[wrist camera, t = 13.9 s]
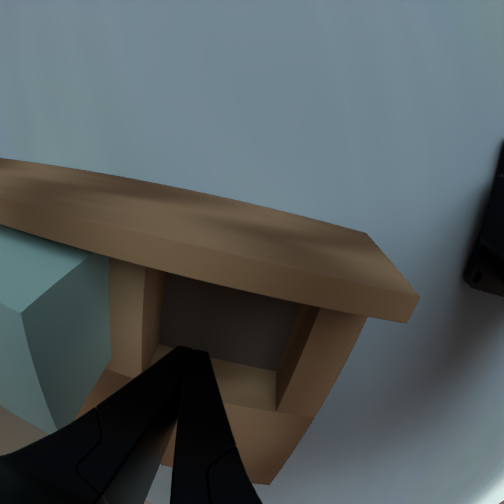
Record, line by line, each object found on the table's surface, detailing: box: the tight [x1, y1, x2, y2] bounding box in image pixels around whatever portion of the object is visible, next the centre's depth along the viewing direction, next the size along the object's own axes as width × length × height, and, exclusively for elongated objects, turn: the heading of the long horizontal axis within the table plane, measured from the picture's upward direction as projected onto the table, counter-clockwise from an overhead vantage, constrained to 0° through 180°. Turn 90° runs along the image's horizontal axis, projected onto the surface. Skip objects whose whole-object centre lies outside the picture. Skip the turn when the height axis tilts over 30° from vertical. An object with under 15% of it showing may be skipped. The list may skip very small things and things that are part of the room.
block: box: [0, 224, 112, 435], centre depth 7 cm, size 4×4×4 cm
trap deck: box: [0, 158, 420, 485], centre depth 10 cm, size 18×13×4 cm
